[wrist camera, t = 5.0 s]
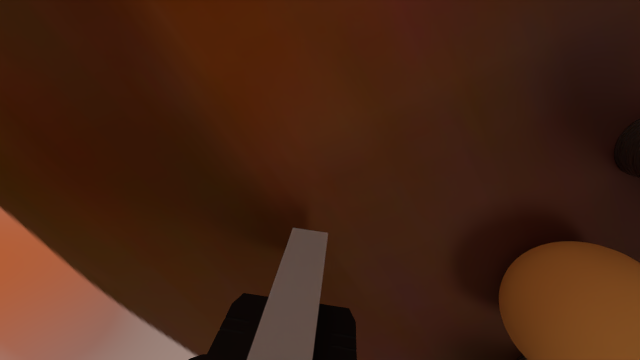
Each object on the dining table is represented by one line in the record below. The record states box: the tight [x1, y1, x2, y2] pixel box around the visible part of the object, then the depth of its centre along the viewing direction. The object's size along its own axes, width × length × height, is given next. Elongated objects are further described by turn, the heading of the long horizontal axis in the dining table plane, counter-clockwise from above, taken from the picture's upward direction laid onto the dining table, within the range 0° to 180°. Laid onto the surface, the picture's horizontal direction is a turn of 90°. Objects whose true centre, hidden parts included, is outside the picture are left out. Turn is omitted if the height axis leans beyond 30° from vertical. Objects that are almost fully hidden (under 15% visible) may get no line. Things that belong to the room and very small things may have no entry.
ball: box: [499, 241, 640, 360], centre depth 12 cm, size 6×6×6 cm
